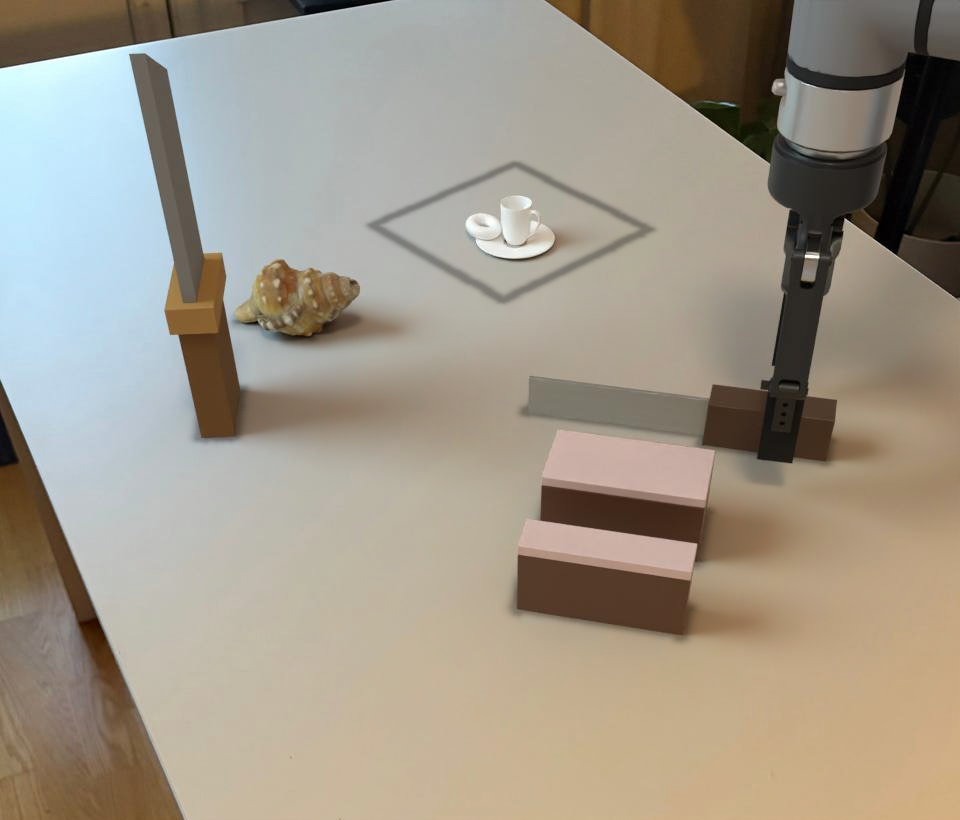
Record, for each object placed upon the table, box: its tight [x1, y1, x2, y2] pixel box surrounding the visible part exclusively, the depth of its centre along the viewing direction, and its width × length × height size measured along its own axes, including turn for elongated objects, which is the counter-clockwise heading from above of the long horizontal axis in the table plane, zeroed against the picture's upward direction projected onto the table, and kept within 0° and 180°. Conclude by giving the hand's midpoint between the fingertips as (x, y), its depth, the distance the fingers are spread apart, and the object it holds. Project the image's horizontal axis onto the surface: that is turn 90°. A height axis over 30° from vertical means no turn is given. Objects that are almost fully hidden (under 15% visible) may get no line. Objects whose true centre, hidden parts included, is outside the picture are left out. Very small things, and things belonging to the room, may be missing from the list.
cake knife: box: [527, 375, 838, 462], centre depth 100 cm, size 25×3×4 cm, turn 76°
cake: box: [539, 429, 717, 563], centre depth 92 cm, size 12×6×6 cm, turn 76°
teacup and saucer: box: [465, 195, 556, 260], centre depth 121 cm, size 9×8×4 cm
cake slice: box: [516, 518, 697, 636], centre depth 86 cm, size 12×3×6 cm, turn 76°
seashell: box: [234, 258, 361, 337], centre depth 111 cm, size 9×8×10 cm
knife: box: [128, 52, 241, 439], centre depth 93 cm, size 8×4×30 cm, turn 3°
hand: (781, 410), depth 98 cm, fingers open, 12 cm apart
